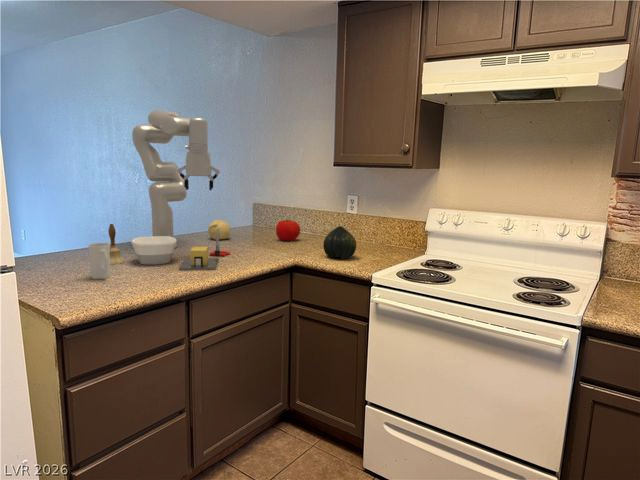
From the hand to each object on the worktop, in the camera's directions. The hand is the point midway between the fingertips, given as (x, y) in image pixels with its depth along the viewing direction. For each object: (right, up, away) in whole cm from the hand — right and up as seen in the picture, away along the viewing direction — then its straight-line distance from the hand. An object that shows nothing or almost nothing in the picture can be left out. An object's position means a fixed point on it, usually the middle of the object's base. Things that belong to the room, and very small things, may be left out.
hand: (198, 189), depth 191 cm
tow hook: (+6, -28, +15) cm, 33 cm away
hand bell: (-33, -31, -6) cm, 46 cm away
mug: (-27, -35, -30) cm, 53 cm away
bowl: (-18, -31, -2) cm, 35 cm away
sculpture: (-3, -21, +54) cm, 58 cm away
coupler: (+2, -32, -6) cm, 32 cm away
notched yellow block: (+2, -31, -6) cm, 32 cm away
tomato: (+34, -22, +56) cm, 69 cm away
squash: (+60, -30, +16) cm, 69 cm away
